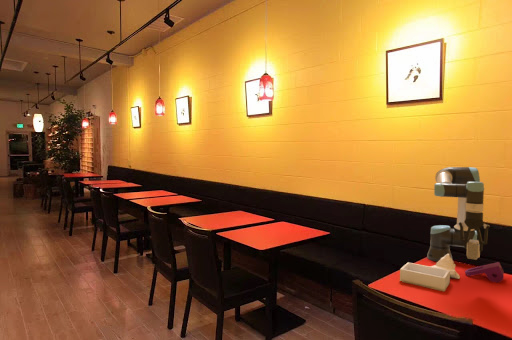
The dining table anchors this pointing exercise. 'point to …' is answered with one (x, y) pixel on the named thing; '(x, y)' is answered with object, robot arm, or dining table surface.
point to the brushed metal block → (472, 249)
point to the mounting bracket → (488, 271)
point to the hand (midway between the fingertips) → (473, 256)
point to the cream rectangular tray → (425, 276)
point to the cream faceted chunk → (447, 266)
